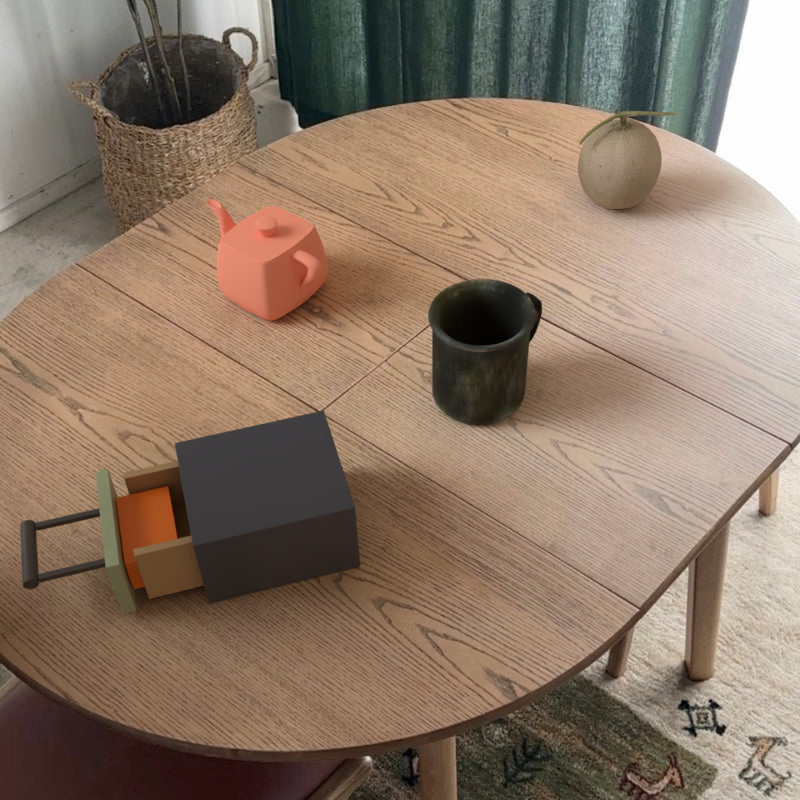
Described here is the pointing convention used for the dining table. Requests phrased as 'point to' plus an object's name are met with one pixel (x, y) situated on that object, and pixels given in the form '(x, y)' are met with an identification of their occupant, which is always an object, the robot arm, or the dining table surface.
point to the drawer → (157, 563)
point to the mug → (481, 348)
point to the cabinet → (267, 506)
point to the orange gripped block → (145, 525)
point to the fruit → (620, 161)
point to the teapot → (269, 260)
